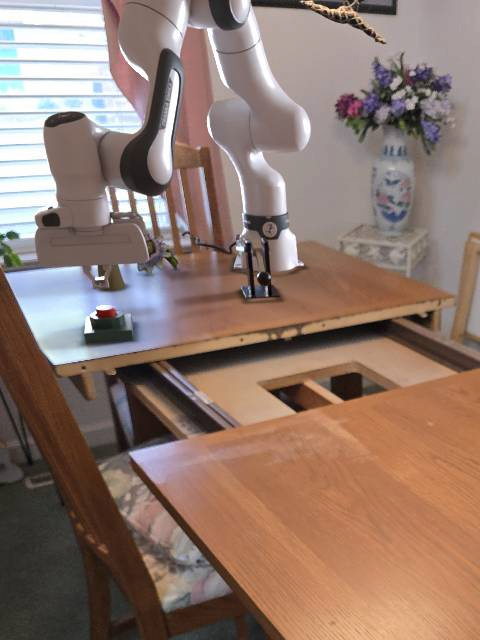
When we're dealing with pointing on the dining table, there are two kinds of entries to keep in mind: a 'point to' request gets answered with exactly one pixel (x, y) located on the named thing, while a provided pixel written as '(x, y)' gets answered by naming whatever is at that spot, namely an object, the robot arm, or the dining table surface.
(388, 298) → the dining table surface
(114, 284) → the cork
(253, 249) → the lever
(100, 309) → the button
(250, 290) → the black two-post stand
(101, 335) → the button block
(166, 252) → the passion flower
